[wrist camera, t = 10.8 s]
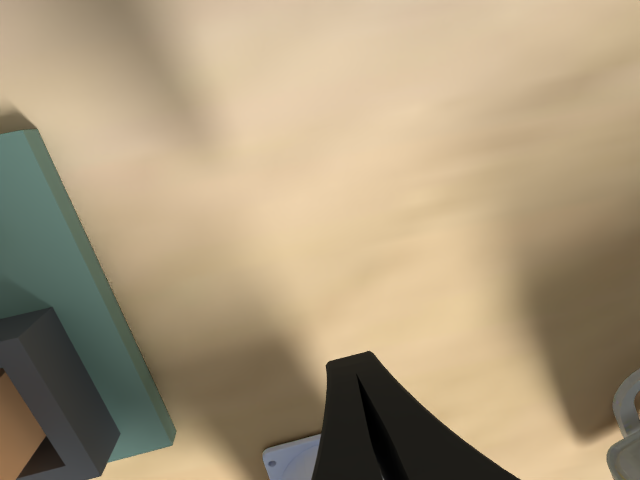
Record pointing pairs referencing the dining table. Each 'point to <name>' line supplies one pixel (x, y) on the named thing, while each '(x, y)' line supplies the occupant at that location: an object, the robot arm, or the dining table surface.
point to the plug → (16, 430)
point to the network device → (626, 432)
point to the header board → (66, 329)
